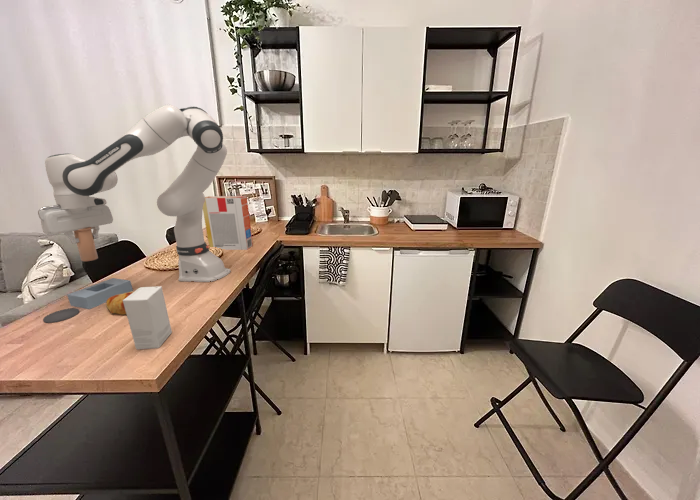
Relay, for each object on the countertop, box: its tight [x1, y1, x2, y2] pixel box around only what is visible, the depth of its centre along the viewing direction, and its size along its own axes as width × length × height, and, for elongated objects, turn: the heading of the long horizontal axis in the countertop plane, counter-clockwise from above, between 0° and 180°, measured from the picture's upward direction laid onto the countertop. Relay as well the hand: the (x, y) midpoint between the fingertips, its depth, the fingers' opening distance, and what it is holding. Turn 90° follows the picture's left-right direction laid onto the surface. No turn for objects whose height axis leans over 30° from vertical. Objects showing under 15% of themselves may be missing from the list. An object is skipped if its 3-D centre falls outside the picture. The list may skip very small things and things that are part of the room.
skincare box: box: [123, 285, 173, 351], centre depth 83 cm, size 8×7×16 cm
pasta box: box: [202, 195, 254, 251], centre depth 172 cm, size 23×8×30 cm, turn 85°
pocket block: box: [66, 277, 134, 310], centre depth 113 cm, size 10×16×4 cm, turn 162°
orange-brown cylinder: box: [73, 227, 99, 262], centre depth 107 cm, size 5×5×12 cm
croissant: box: [105, 291, 134, 316], centre depth 104 cm, size 21×10×8 cm, turn 69°
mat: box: [42, 307, 80, 324], centre depth 101 cm, size 9×9×1 cm
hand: (85, 241), depth 107 cm, fingers closed on orange-brown cylinder, 5 cm apart
